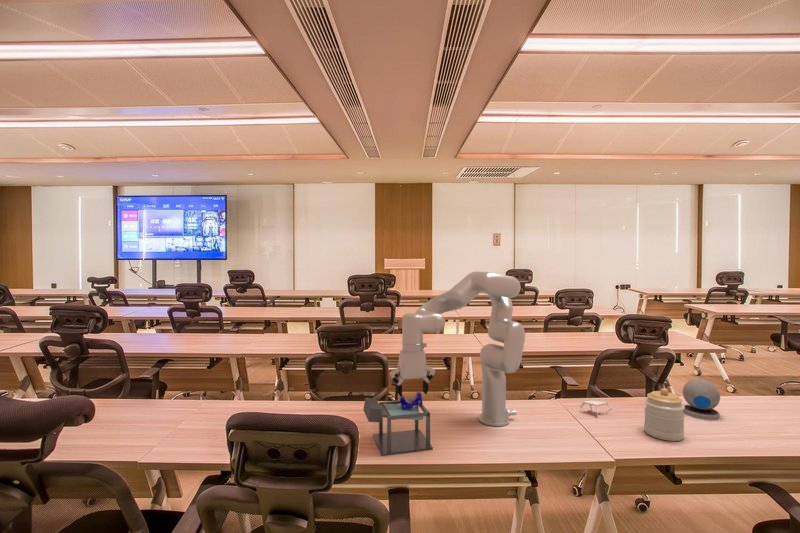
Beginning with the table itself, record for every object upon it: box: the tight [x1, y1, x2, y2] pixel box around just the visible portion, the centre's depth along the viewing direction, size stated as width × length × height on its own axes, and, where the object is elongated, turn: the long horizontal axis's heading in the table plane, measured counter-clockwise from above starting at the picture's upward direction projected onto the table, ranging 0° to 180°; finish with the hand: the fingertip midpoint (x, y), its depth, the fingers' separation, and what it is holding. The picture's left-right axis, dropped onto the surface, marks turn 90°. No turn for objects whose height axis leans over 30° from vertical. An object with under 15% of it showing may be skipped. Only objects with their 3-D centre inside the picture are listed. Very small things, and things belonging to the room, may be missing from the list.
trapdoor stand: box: [372, 398, 434, 457], centre depth 148 cm, size 18×16×13 cm
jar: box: [643, 387, 685, 442], centre depth 155 cm, size 13×13×18 cm
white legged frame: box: [579, 400, 613, 418], centre depth 175 cm, size 12×8×5 cm
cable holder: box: [398, 391, 424, 410], centre depth 150 cm, size 8×4×4 cm, turn 101°
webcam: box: [682, 378, 721, 421], centre depth 175 cm, size 13×13×15 cm
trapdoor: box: [363, 397, 424, 423], centre depth 147 cm, size 19×12×5 cm, turn 105°
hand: (412, 393), depth 149 cm, fingers open, 9 cm apart
